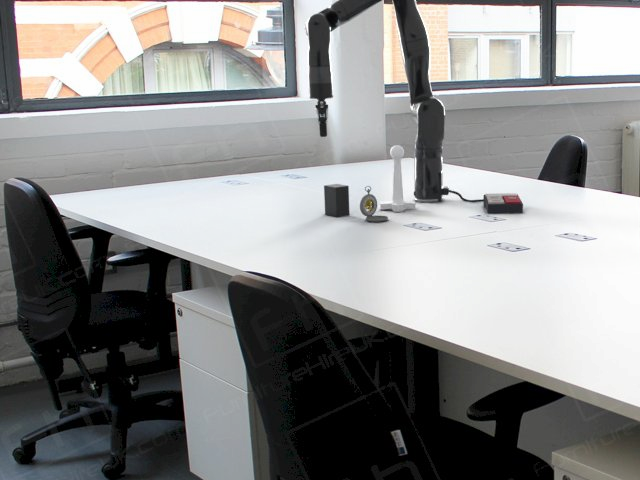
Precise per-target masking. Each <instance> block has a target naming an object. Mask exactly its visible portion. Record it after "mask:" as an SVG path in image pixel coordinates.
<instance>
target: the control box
mask: <svg viewBox="0 0 640 480" xmlns="http://www.w3.org/2000/svg"><path fill="white" fill-rule="evenodd" d="M483 199H484V202H482V203H483V205H482V206H483V208H484V209H485V211H486V213H487V215H501V214H503V215H504V214H505V215H506V214H524V203H523V201H522V199H521V198H520V196H519V194H518V193H517V192H510V193H509V192H507V193H506V192H505V193H503V192H501V193H484V194H483Z"/></svg>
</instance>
